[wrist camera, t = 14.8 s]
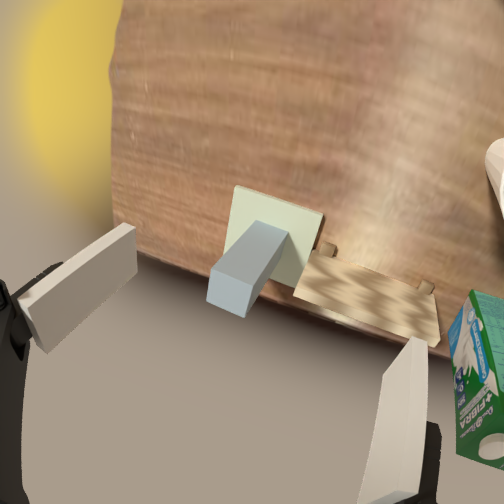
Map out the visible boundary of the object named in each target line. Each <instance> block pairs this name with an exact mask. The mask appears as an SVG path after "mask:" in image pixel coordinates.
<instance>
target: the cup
mask: <svg viewBox="0 0 504 504" xmlns="http://www.w3.org/2000/svg"><path fill="white" fill-rule="evenodd" d="M485 168H486V172H487V175H488V178H489V180H490V182H491V185H492V187H493V190H494V192H495V195H496V197H497V200H498V202H499V205H500V208H501V211H502V214H503V218H504V138H502V139H498V140H496V141H495V142H494V143H492V144H491V145H490V147H489V149H488V150H487V153H486V156H485Z"/></svg>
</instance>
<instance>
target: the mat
mask: <svg viewBox="0 0 504 504" xmlns="http://www.w3.org/2000/svg"><path fill="white" fill-rule="evenodd" d="M322 217H323V214H322V213H320V212H317V211H314V210H311V209H308V208H305V207H302V206H300V205H297V204H294V203H291V202H288V201H285V200H282V199H279V198H276V197H273V196H270V195H267V194H264V193H261V192H258V191H255V190H252V189H249V188H245V187H242V186H239V185H236V186H235V189H234V195H233V201H232V206H231V212H230V218H229V224H228V230H227V236H226V242H225V248H224V254H225V253H226V252H227V251H228V250H229V249H230V247H231V246H232V245H233V244H234V243H235V242H236V241H237V240H238V239H239V238H240V237H241V235H242V234H243V233H244V232H245V231H246V230H247V229H248V228H249V227H250V226H251V225H252V224H253V222H254V221H255V220H258V221H261V222H264V223H266V224H269V225H272V226H274V227H277V228H280V229H282V230H285V231H288V235H287V238H286V241H285V244H284V248H283V251H282V254H281V257H280V260H279V262H278V263H277V265H276V267H275V268H274V270H273V272H272V273H271V275H270V277H269V278H270V279H272V280H275V281H277V282H280V283H283V284H285V285H288V286H290V287H293V288H296V286H297V284H298V281H299V279H300V277H301V275H302V273H303V270H304V268H305V266H306V264H307V261H308V259H309V256H310V253H311V250H312V247H313V244H314V241H315V238H316V235H317V232H318V229H319V226H320V223H321V220H322ZM224 254H223V255H224Z"/></svg>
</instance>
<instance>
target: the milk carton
mask: <svg viewBox="0 0 504 504" xmlns="http://www.w3.org/2000/svg"><path fill="white" fill-rule="evenodd" d="M448 338H449V346H450V353H451V362H452V371H453V382H454V393H455V411H456V412H455V413H456V454H458V455H460V456H463V457H466V458H469V459H471V460H474V461H477V462H480V463H483V464H486V465H489V466H492V467H495V468H498V469H501V470H504V299H501V298H498V297H494V296H491V295H488V294H485V293H482V292H479V291H475V290H471V291H470V293H469V295H468V297H467V299H466V301H465V303H464V305H463V306H462V308H461V310H460V312H459V314H458V315H457V317H456V319H455V321H454V322H453V324H452V326H451V328H450V329H449V331H448Z"/></svg>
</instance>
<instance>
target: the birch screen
mask: <svg viewBox="0 0 504 504" xmlns="http://www.w3.org/2000/svg"><path fill="white" fill-rule="evenodd" d="M335 248H336V245H333V244H331V243H328V242H325V241H323V242H322V245H321V248H320V251H319V250H316V249H313V250H312V252H311V255H310V257H309V259H308V261H307V264H306V266H305V268H304V270H303V273H302V275H301V277H300V279H299V281H298V284H297V286H296V289H295V291H294V294H293V296H295V297H298V298H300V299H303V300H305V301H308V302H311V303H313V304H316V305H319V306H321V307H324V308H327V309H329V310H332V311H335V312H337V313H340V314H343V315H345V316H348V317H351V318H353V319H356V320H359V321H361V322H364V323H367V324H370V325H372V326H375V327H378V328H381V329H383V330H386V331H389V332H392V333H394V334H397V335H400V336H403V337H406V338H408V339H410V338H411V337H412V336H414V337H416V338H419V339H422V340H425V341H427V345H428V346H431V347H435V346H436V345H437V344H438V342H439V341H440V333H439V325H438V318H437V311H436V305H435V299H434V295H433V294H431V291H432V290H433V288H434V283H431V282H429V281H426V280H424V279H422V281H421V283H420V285H419V286H418V288H416V287H413V286H411V285H408V284H406V283H403V282H400V281H398V280H395V279H393V278H390V277H387V276H385V275H382V274H380V273H377V272H374V271H372V270H369V269H367V268H364V267H361V266H359V265H356V264H353V263H351V262H348V261H346V260H343V259H340V258H338V257H335V256H333V253H334V251H335Z"/></svg>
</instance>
